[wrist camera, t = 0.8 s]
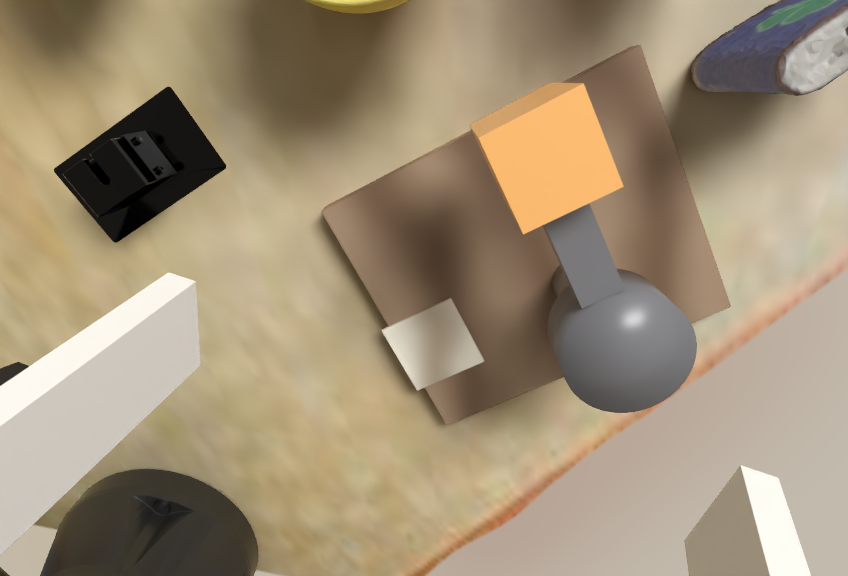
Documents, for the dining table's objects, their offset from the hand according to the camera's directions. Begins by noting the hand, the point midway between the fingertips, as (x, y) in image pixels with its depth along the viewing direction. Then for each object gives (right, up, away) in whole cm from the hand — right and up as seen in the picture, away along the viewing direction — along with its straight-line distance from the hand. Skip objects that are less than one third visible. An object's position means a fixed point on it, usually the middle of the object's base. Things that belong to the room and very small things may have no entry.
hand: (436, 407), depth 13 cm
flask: (+19, +17, +17) cm, 31 cm away
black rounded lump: (-18, +11, +21) cm, 30 cm away
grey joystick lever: (+7, +5, +14) cm, 16 cm away
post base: (+6, +5, +22) cm, 23 cm away
